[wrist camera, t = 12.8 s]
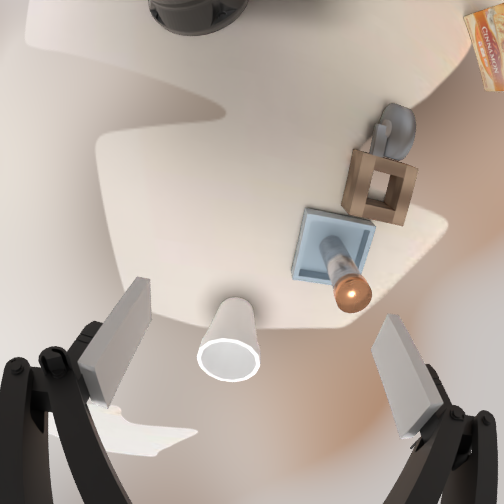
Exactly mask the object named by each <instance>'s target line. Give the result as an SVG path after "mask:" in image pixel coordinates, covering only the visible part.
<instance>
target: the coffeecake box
mask: <svg viewBox="0 0 504 504" xmlns="http://www.w3.org/2000/svg"><path fill="white" fill-rule="evenodd" d="M464 20H465V23H466V26H467V28H468V31H469V34H470V37H471V40H472V44H473V47H474V50H475V54H476V57H477V61H478V64H479V68H480V72H481V76H482V81H483V85H484V90H485V91H491V92H504V3H502V4H499V5H496V6H493V7H490V8H487V9H484V10H481V11H478V12H475V13H473V14H470V15H467V16H465V17H464Z"/></svg>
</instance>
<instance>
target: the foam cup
mask: <svg viewBox="0 0 504 504" xmlns="http://www.w3.org/2000/svg"><path fill="white" fill-rule="evenodd" d="M260 358H261V355H260V347H259V344H258V341H257V334H256V327H255V319H254V312H253V307H252V306H251V304H250V303H249V302H248V301H246V300H244V299H243V298H237V297H232V298H228V299H226V300H225V301H223V302H222V303H221V305H220V307H219V309H218V311H217V313H216V315H215V317H214V319H213V321H212V323H211V325H210V327H209V329H208V331H207V333H206V335H205V336H204V337H203V338H202V341H201V344H200V347H199V351H198V354H197V360H198V363H199V366H200V368H202V370H204V371H205V372H206V373H207V374H208V375H209V376H212V377H214V378H216V379H218V380H221V381H228V382H236V381H242V380H246V379H248V378H250V377H251V376H253V375H255V374H256V372H257V370H258V368H259V367H260Z"/></svg>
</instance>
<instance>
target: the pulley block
mask: <svg viewBox="0 0 504 504" xmlns="http://www.w3.org/2000/svg"><path fill="white" fill-rule="evenodd" d="M415 132H416V121H415V116H414V113H413V111H412V110H411V109H409V108H406V107H404V106H401V105H398V104H395V103H391V104H389V105H388V106H387V107H386V109H385V110H384V112H383V114H382V117H381V119H380V123H379V124H375V126H374V132H373V137H372V142H371V147H370V152H369V153H367V152H362V151H359V150H355V149H353V153H352V158H351V163H350V168H349V172H348V177H347V181H346V186H345V190H344V195H343V199H342V203H341V206H342V207H343V208H344V209H345V210H346V212H347V213H348V214H349V215H353V216H358V217H363V218H367V219H372V220H377V221H381V222H386V223H390V224H395V225H399V226H403V225H404V221H405V218H406V215H407V211H408V208H409V204H410V200H411V197H412V193H413V189H414V185H415V181H416V176H417V173H418V168H415V167H413V166H410V165H407V164H405V163H402V162H398V161H400V160H402V159H404V158H405V157H406V155H407V154H408V153H409V151H410V149H411V147H412V145H413V141H414V138H415ZM383 156H384V157H383ZM385 157H387V158H385ZM388 158H391V159H388ZM392 159H394V160H398V161H394V160H392ZM373 170H376V171H380V172H384V173H387V174H391V175H390V180H389V183H388V187H387V191H386V195H385V199H384V202H382V201H378V200H374V199H369V198H367V195H368V191H369V187H370V183H371V178H372V174H373Z"/></svg>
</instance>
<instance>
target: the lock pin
mask: <svg viewBox="0 0 504 504" xmlns="http://www.w3.org/2000/svg"><path fill="white" fill-rule="evenodd" d="M319 250H320V253H321V256H322V259H323V261H324V264H325V267H326V269H327V272H328V275H329V278H330V280H331V283H332V286H333V289H334V290H333V292H334V296H335V299H336V302H337V305H338V307H339V308H340V309H341V310H342V311H344V312H347V313H355V312H359V311H361V310H363V309H364V308H365V307H366V306H367V305H368V304H369V303H370V301H371V298H372V291H371V288H370V286H369V285H368V283H367V281H366V279H365V278H364V277H363V276H362V275H361V274H360V272H359V270H358V268H357V266H356V265H355V263H354V261H353V259H352V258H351V256H350V254H349V252H348V251H347V249H346V247H345V245H344V244H343V242H342V240H341V239H340V238H339V237H337V236H328V237H326V238H324V239H323V240H322V241H321V243H320V246H319Z"/></svg>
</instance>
